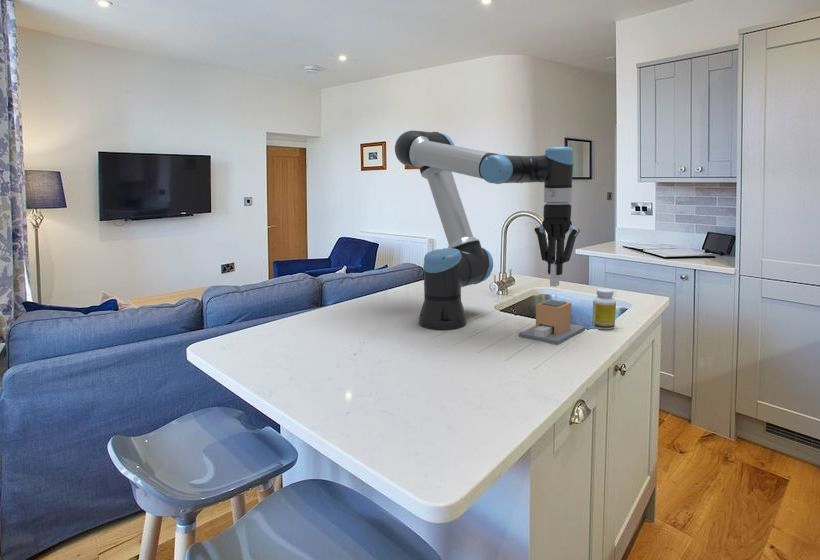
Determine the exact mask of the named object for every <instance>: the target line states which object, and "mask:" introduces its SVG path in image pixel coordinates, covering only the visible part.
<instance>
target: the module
mask: <svg viewBox="0 0 820 560" xmlns="http://www.w3.org/2000/svg"><path fill="white" fill-rule="evenodd" d="M571 316H572V302H570V301H569V302H568V301H562V300H554V299H547V300H545V301H542V302H539V303H536V305H535V326H536V328H537V327H540V326H542V325H548V326H554V335H560V334H562V333H564V332H566V331H568V330H570V324H572V322H571V321H572V320H571V319H572V317H571Z"/></svg>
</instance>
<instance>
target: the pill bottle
mask: <svg viewBox="0 0 820 560" xmlns="http://www.w3.org/2000/svg"><path fill="white" fill-rule="evenodd" d="M596 296H597V297H595V298H594V299H593V301H592V318H591V319H592V321H591V326H592V327H593V328H595V329H598V330H602V329H603V330H605V331H606V330H607V331H608V330H609V331H610V330H614V328H615V324H616V306H617V300H616V299H615V298H614V297H613V296H614V290H613V289H611V288H610V289H609V288H598V289H596Z"/></svg>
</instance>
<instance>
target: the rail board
mask: <svg viewBox="0 0 820 560" xmlns="http://www.w3.org/2000/svg"><path fill="white" fill-rule="evenodd" d="M584 331H586V326H583V325H578V324H573V323H570V330H568V331H566V332H564V333H562V334H560V335H554V326H548V325H542V326H540V327H537V328H536V325H535V326H532V327H530V328H527V329H526V330H523V331H521V332H519V333H518V337H520V338H526V339H529V340H534V341H538V342H543V343H548V344H553V345H555V346H558V345H560V344H562V343H564V342H565V341H568V340H569V339H571V338H573V337H575V336H576V335H578V334H581V333H582V332H584Z"/></svg>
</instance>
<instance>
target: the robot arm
mask: <svg viewBox="0 0 820 560" xmlns="http://www.w3.org/2000/svg"><path fill="white" fill-rule="evenodd" d="M394 153H395V156H396V159H397V160H398V162H400V163H401V164H402V165H404V166H407V167H411V168H419V172H420V174H421V175H420V176H421V177H422V178H423V179H426V180H427V182H428V185H429V188H430V190H431V195H432V198H433V201H434V204H435V207H436V210H437V213H438V215H439V219H440V222H441V225H442V228H443V232H444V235H445V237H446V240H447V242H448V246H447V247H446V248H442V249H441V248H439V249H435V250H430V251H429V252H427V253H426V254H425V256H424V258H423V267H422V268H423V287H424V288H423V290H424V292H423V293H424V294H423V295H424V299H423V300H424V301H423V304H422V306H421V309H420V314H419V318H418V319H419V321H418V323H419V325H420V326H421V327H424V328H427V329H432V330H455V329H459V328H463V327H465V326H466V325H467V315H466V313H465V309H464V305H463V302H462V288H464V287H467V286H471V285H478V284H480V283H483V282H484V281H486V280H487V279H488V278H489V277H490V276H491V275H492V271H493V270H494V260H493V257H492V253H490V251H489V250H487V249H486V248H484V247H482V245H481V241H480V239H478V238H476V237H474V235H473V231H472V229H471V226H470V224H469V220H468V216H467V214H466V211H465V208H464V205H463V202H462V199H461V196H460V192H459V190H458V188H457V184H456V181H455V178H454V175H453V173H457V174H460V175H464V176H468V177H469V176H470V177H474V178H478V179H482V180H484V181H485V182H487V183H488V184H496V185H500V184H524V183H525V184H526V183H530V184H531V183H544V184H543V185H544V189H543V190H544V191H543V192H544V193H543V202H544V203H545V204H544V205H543V215H542V217H543V221H542V222H541V225H539V226H538V227H534V229H533V230H534V232H535V234H536V236H537V240H538V241H537V242H538V246H539V251H540V252H539V253H540V256H541V260H542V261H543V262H547V274H548V275H549V287H553V288H554V287H558V286H559V285H560V276H562V275H563V266H564V263H568V262H569V261H570V260H571V257H572V253H573V249H574V245H575V242H576V238H577V236H578V235H579V233H580V232H581V230H580V229H579V228H576V227H574V226H573V222H572V220H571V219H572V218H571V217H572V204H571V202H572V200H573V177H574V176H573V171H574V164H575V163H574V150H573V148H572V147H570V146H552V147H551V146H549V147H546V149H545V152H544V154H543V155H506V154H500V153H494V152H488V151H484V150H478V149H474V148H468V147H463V146H456V145H455V143H454V142H453V140H452V137H450V136H449V135H447V134H445V133H442V132H439V131H425V130H424V131H423V130H408V131H405V132H404V133H402V134H400V136H398V138H397V139H396V141H395V144H394ZM545 232H546V234H547V235H546V234H545ZM567 233H568V236H567V240H566V235H567ZM546 236H547V238H546ZM565 240H566V244H565Z"/></svg>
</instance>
